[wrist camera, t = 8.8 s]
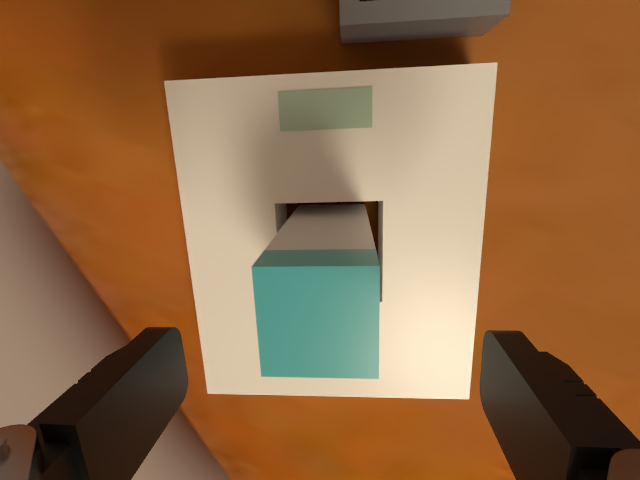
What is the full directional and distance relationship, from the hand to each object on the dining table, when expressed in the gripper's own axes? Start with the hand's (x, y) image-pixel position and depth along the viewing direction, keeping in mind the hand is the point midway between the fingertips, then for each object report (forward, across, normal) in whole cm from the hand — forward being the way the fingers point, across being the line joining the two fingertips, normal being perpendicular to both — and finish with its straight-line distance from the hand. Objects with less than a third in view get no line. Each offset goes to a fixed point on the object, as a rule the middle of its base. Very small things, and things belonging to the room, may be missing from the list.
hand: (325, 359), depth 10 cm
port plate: (+11, 0, 0) cm, 11 cm away
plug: (+11, 0, 0) cm, 11 cm away
